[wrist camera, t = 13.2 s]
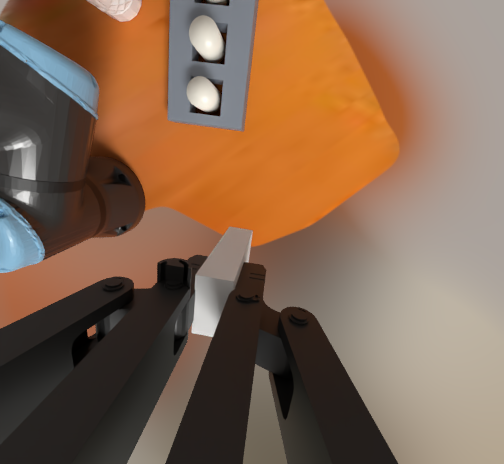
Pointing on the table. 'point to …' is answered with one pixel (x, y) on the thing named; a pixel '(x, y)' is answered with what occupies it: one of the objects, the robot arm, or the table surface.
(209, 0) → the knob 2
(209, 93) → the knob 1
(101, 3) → the white cup
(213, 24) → the white oval solid
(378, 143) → the table surface
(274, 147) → the table surface
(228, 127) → the grey egg holder
